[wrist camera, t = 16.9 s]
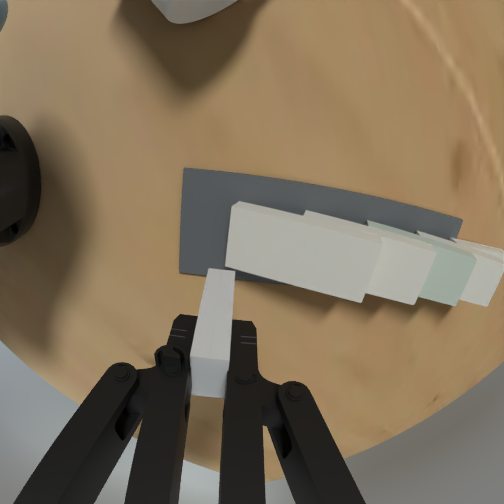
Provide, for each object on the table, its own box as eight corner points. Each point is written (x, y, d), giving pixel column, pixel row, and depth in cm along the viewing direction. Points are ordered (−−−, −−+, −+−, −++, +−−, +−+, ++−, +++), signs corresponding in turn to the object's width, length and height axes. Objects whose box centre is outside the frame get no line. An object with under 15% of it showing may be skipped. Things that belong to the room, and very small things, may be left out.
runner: (179, 270, 27) (179, 272, 27) (184, 167, 23) (183, 168, 22) (430, 295, 29) (432, 296, 29) (461, 219, 25) (463, 220, 24)
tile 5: (440, 288, 26) (493, 290, 27) (459, 244, 24) (509, 255, 25) (433, 279, 28) (486, 283, 29) (449, 237, 25) (501, 248, 26)
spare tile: (351, 279, 25) (455, 306, 23) (368, 225, 23) (477, 259, 20) (351, 270, 27) (450, 297, 24) (366, 219, 24) (470, 252, 22)
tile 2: (290, 273, 25) (414, 305, 22) (303, 215, 22) (436, 252, 20) (293, 264, 26) (410, 295, 24) (305, 209, 24) (431, 244, 21)
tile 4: (402, 285, 26) (486, 306, 23) (420, 236, 23) (506, 265, 21) (400, 276, 27) (481, 298, 24) (416, 230, 25) (499, 258, 22)
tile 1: (225, 266, 24) (361, 303, 22) (231, 206, 22) (383, 244, 20) (232, 257, 26) (360, 291, 23) (239, 201, 24) (380, 236, 21)
